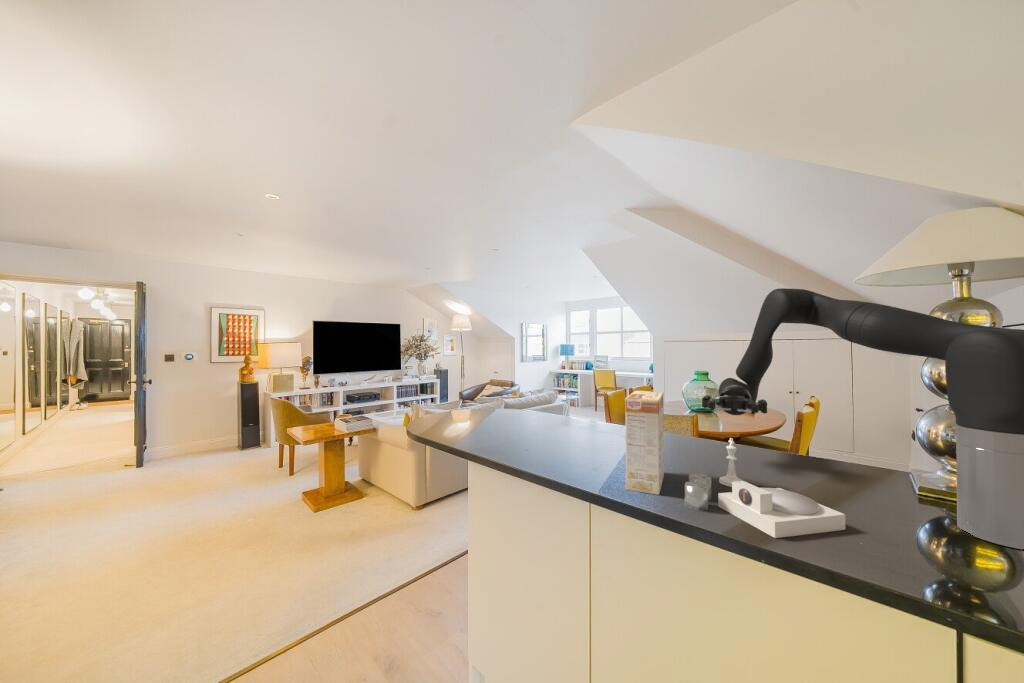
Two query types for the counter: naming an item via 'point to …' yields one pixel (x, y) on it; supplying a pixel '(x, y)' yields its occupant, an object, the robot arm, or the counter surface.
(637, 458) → the coffeecake box
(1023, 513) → the robot arm
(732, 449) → the chess piece
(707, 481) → the spacer
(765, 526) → the scale
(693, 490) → the spacer
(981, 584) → the counter surface
